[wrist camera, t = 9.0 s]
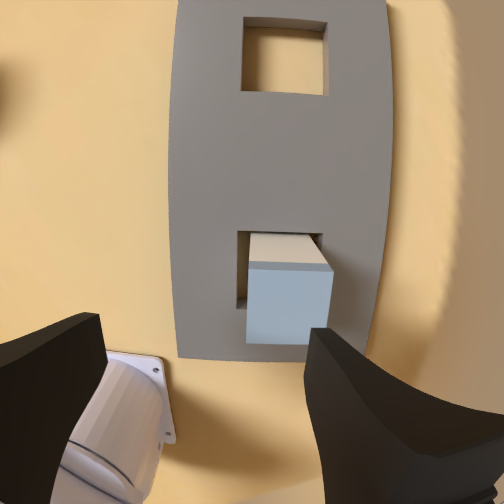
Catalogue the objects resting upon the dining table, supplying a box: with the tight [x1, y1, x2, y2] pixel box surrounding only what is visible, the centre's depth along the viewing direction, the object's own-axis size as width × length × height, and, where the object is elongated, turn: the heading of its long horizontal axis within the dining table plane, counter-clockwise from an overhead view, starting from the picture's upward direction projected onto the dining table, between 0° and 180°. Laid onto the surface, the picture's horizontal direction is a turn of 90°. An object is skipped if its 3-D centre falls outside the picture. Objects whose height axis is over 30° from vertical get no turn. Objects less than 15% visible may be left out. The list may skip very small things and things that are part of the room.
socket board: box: [168, 0, 393, 362], centre depth 17 cm, size 24×12×2 cm, turn 178°
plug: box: [246, 231, 334, 344], centre depth 16 cm, size 3×3×7 cm
